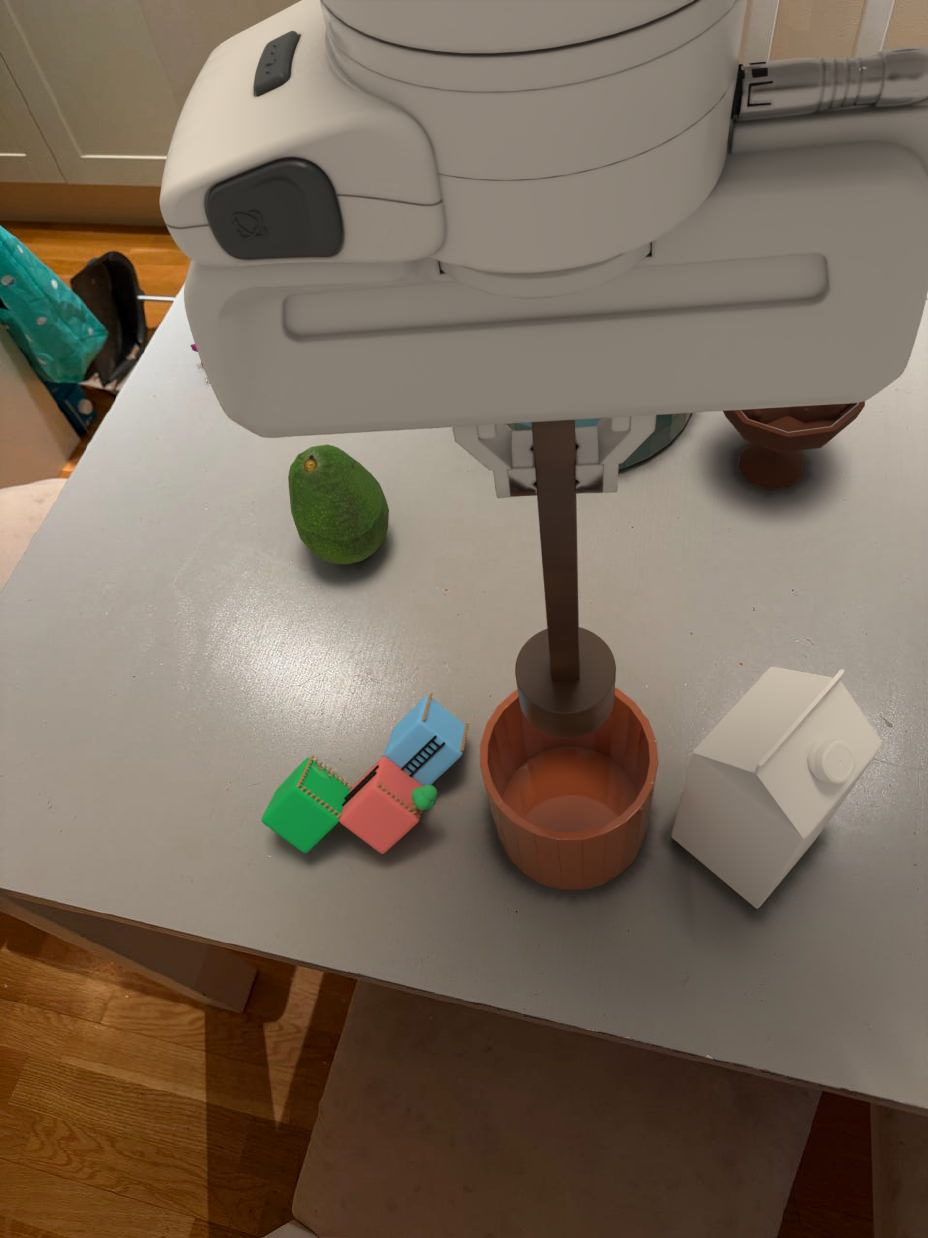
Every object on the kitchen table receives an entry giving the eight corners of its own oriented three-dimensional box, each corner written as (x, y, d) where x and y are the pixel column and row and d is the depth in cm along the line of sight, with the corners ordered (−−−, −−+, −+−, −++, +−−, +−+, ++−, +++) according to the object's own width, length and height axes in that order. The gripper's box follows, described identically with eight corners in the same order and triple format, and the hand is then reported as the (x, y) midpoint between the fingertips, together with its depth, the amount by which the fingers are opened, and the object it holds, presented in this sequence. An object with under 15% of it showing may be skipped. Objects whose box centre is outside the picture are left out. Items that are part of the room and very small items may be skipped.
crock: (641, 743, 65) (650, 672, 55) (652, 890, 59) (665, 839, 50) (496, 745, 66) (481, 676, 56) (494, 890, 60) (477, 840, 51)
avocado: (297, 536, 78) (253, 443, 68) (376, 498, 80) (345, 401, 70) (331, 601, 74) (290, 511, 64) (414, 560, 76) (387, 466, 65)
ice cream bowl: (700, 508, 75) (724, 374, 62) (713, 412, 80) (737, 271, 68) (833, 523, 73) (885, 387, 60) (837, 423, 78) (886, 279, 65)
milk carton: (669, 837, 61) (699, 720, 45) (733, 766, 63) (784, 629, 47) (756, 911, 58) (822, 814, 42) (821, 833, 60) (908, 712, 44)
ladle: (611, 652, 48) (628, 299, 28) (617, 737, 45) (638, 415, 26) (519, 654, 48) (472, 311, 29) (518, 739, 46) (467, 425, 26)
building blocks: (370, 820, 69) (471, 723, 64) (347, 891, 61) (460, 787, 57) (290, 759, 67) (388, 656, 63) (257, 824, 60) (365, 712, 56)
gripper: (981, -32, 21) (839, 399, 32) (149, 62, 23) (297, 432, 35) (1068, 120, 17) (875, 539, 29) (88, 211, 20) (273, 564, 32)
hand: (555, 481), depth 32 cm, fingers closed on ladle
